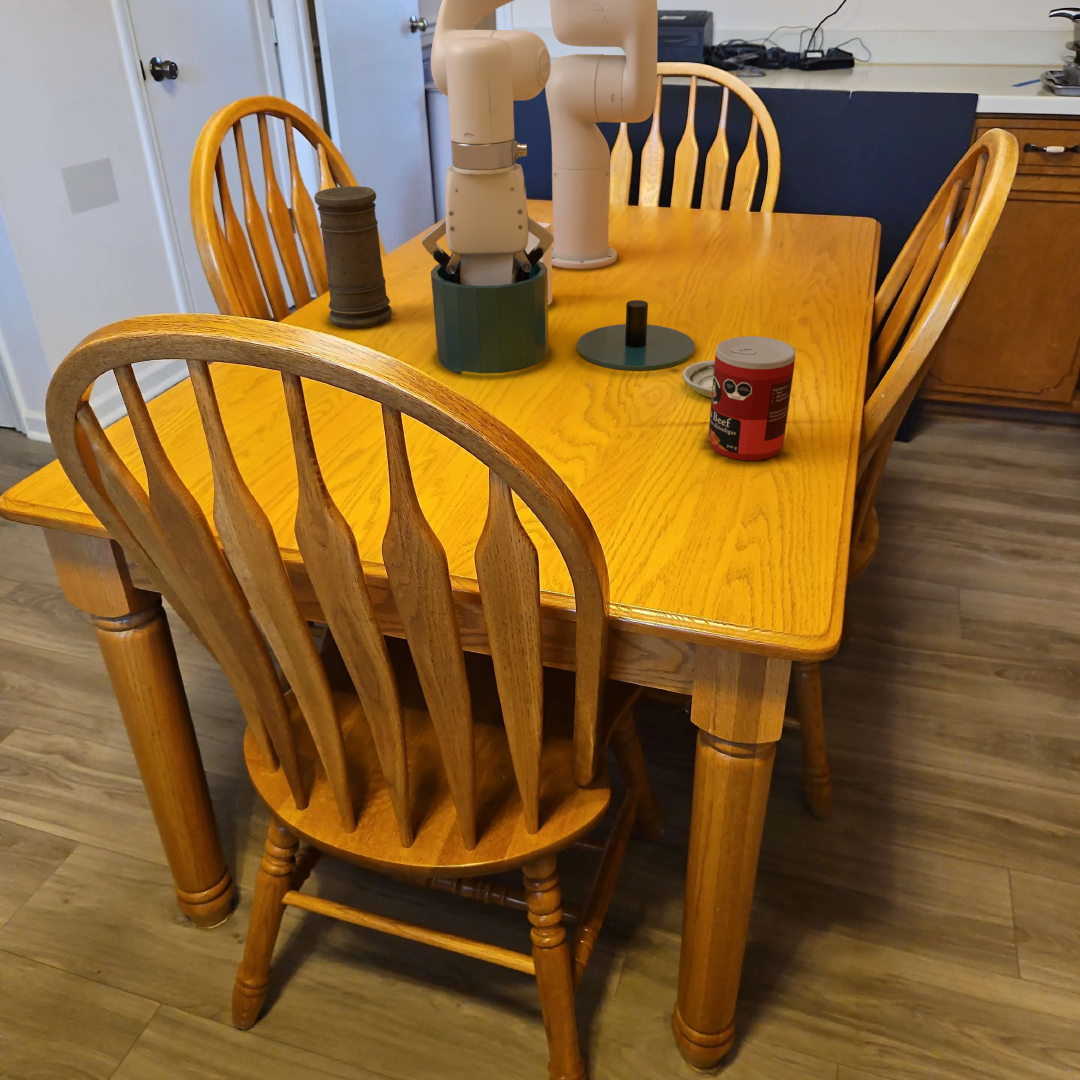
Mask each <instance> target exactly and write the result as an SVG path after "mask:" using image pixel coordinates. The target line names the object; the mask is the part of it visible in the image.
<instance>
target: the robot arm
mask: <svg viewBox="0 0 1080 1080" xmlns="http://www.w3.org/2000/svg"><path fill="white" fill-rule="evenodd" d="M514 1H515V0H441V3H440V6H439V10H438V14H437V19H436V23H435V28H434V33H433V38H432V44H431V51H430V53H431V54H430V70H431V71H430V72H431V76H432V80H433V83H434V85H435V87H436V88H437V90H438V91H439V92H440V93H441V94H442V95H444V96H446V97H447V100H448V116H449V132H450V144H451V145H450V146H451V147H450V148H451V160H452V161H451V162H452V165H449V166H448V167H447V168H446V176H445V177H446V178H445V198H444V200H445V201H444V202H445V203H444V204H445V205H444V206H445V210H444V211H445V212H444V213H445V214H444V215H445V218H444V219H443V220H442V221H440V222H439V223H438V224H437V225H436V226H435V227H434V228H433V229H431V230H430V231H429V232H428V233H427V234H425V235H424V236H423V237H422V240H421V245H422V246H423V247H424V249H425V250H426V251H427V252H428V253H429V254H430V255H431V256H432V257H433V259H434V261H435V262H436V263H438V264H440V265H441V266H442V267H443V268H444V269H446V271H447V273H448V274H449V280H450V282H452V283H457V284H461V280H460V267H459V263H460V261H461V259H462V257H463V255H474V254H510V253H513V255H514V257H515V258H516V260H517V262H518V263H519V265H520V268H519V269H518V277H519V282H521V281H525V280H528V279H530V271H531V269H532V267H533V266H534V265H535V264H536V263H537V262H538V261H539V260H540V259H541V258H542V257H543V255H544V253H545V252H546V251H547V249H548V248H549V247H550V245H551V247H552V267H557V268H560V269H561V268H562V269H568V270H569V269H570V270H589V269H597V268H603V267H606V266H607V267H608V266H610V265H612V264H613V263H615V262H616V261H617V259H618V252H617V250H616V249H614V248H613V247H611V246H609V224H610V223H609V221H610V218H609V217H610V173H611V171H610V168H611V165H610V164H611V152H610V147H609V144H608V142H607V140H606V137H604V134H603V133H602V131H601V130H600V128H599V127H598V125H597V124H596V123H624V124H631V123H632V124H633V123H634V124H636V123H641V122H644V121H646V120H648V119H649V118H650V117H651V116H652V115H653V113H654V110H655V106H656V101H657V92H658V91H657V90H658V34H659V33H658V28H659V27H658V25H659V24H658V23H659V22H658V20H659V19H658V17H659V14H658V0H549V7H550V18H551V26H552V30H553V34H554V36H555V37H554V38H555V39H556V40H557V41H558V42H559V43H561V44H563V45H566V46H571V47H580V48H581V47H583V48H584V47H585V48H621V50H622V51H623V53H624V54H604V53H603V54H602V53H601V54H600V53H599V54H594V53H593V54H589V53H587V54H585V53H583V54H582V53H576V54H567V55H563V56H560V57H558V58H557V59H555V60H553V62H551V57H550V52H549V50H548V47H547V45H546V43H545V41H544V40H543V39H542V38H541V37H540V36H539V35H538V34H536V33H534V32H532V31H528V30H521V29H520V30H519V29H506V30H505V29H475V28H476V26H477V25H478V24H479V23H480V21H482V20H483V19H484V18H485V17H486V16H488V15H489V14H491V13H492V12H493V11H495V10H497V9H499V8H501V7H503V6H505V5H508V4H509V3H512V2H514ZM544 89H545V91H544V92H545V99H546V105H547V111H548V116H549V117H548V118H549V125H550V137H551V183H552V184H551V185H552V186H551V190H552V192H551V195H552V197H551V198H552V199H551V201H552V202H551V203H552V232H551V233H550V232H549V231H547V230H546V229H545V228H543V227H542V226H541V225H539V224H538V223H537V222H538V221H535V220H534V219H533V218H531V217H530V216H529V212H528V199H527V189H526V182H525V181H526V180H525V175H524V170H523V167H522V165H521V163H520V164H519V163H516V161H518V159H519V158H522V157H528V144H527V143H521V142H518V141H517V140H515V113H514V112H515V111H514V110H515V109H514V102H515V101H521V102H522V101H528V100H529V101H530V100H532V99H533V98H536V97H537V96H538V95H539V94H540V93H541V92H543V90H544ZM528 231H529V232H530V233H532V234H533V235H535V236H536V237H537V238H539V240H540V241H539V243H538V244H537V246H536V247H535V248H534V249H533V250H532V251H531V252H530V253H529V254H527V252H526V250H525V249H526V248H527V244H528ZM444 236H446V244H447V249H448V250H449V252H451V254H448V253H447V252H446V251H445V250H444V249H443V248H441V247H440V246H439V244H438V241H439V240H440V239H441V238H442V237H444Z"/></svg>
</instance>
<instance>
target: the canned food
mask: <svg viewBox="0 0 1080 1080" xmlns="http://www.w3.org/2000/svg"><path fill="white" fill-rule="evenodd" d="M714 360H715V362H714V374H713V387H712V398H711V401H710V412H709V422H708V423H709V425H708V426H709V427H708V442H709V445H710V447H711V449H712V450H713V451H715V452H716V453H718V454H719V455H721V456H723V457H725V458H729V459H733V460H738V461H748V462H749V461H763V460H768V459H770V458H772V457H774V456H776V455H778V453H779V452H780V451H781V449H782V447H783V445H784V443H785V442H784V441H785V434H786V427H787V420H788V413H789V406H790V399H791V392H792V387H793V379H794V372H795V362H796V349H795V348H794V347H793V346H792V345H791V344H789V343H787V342H785V341H782V340H779V339H776V338H770V337H765V336H755V335H754V336H751V335H750V336H747V335H746V336H736V337H731V338H728V339H725V340H722V341H720V342H719V343H718V344H717V346H716V351H715V355H714Z"/></svg>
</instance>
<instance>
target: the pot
mask: <svg viewBox="0 0 1080 1080" xmlns="http://www.w3.org/2000/svg"><path fill="white" fill-rule="evenodd" d="M459 267H460V269H461V261H460V263H459ZM518 267H519V268H520V265H519V263H518ZM430 278H431V279H430V280H431V281H430V282H431V291H432V292H431V295H432V304H433V305H432V306H433V317H434V329H435V341H436V352H437V358H438V362H439V364H440V365H441V366H442V367H443V368H444V369H446V370H448V371H450V372H452V373H456V374H459V375H462V374H463V373H462V372H467V373H475V374H501V373H502V374H503V373H510V372H516V371H521V370H524V369H528V368H530V367H533V366H536V365H537V364H539V363H541V362H542V361H543V360H545V359H546V357H547V356H548V353H549V349H550V348H549V305H548V280H547V267H546V266H545V265H544V263H542V262H540V261H538V262H537V263H536V264H535V265H534V266H533V267H532V269H531V271H530V279H528V280H525V281H521V282H517V283H513V284H505V285H498V286H471V285H461V284H457V283H452V282H450V280H449V274H448V273H447V271H446V269H444V268H443V267H442V266H441V265H440V264H439V263H438V264H436V265H435V266H434V267H433V268H432V269H431V271H430Z"/></svg>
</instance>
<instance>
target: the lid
mask: <svg viewBox="0 0 1080 1080" xmlns="http://www.w3.org/2000/svg"><path fill="white" fill-rule="evenodd" d="M625 304H626V305H625V323H623V324H622V323H621V324H620V323H619V324H613V325H606V326H602V327H599V328H595V329H591V330H590V331H588V332H586V333H584V334H583V335H581V336H580V337H579V339H577V342H576V350H577V353H578V355H579V356H580V357H581V358H583V359H584V360H586V361H587V362H589V363H591V364H594V365H597V366H600V367H603V368H608V369H615V370H621V371H638V372H639V371H654V370H662V369H668V368H671V367H675V366H678V365H680V364H683V363H685V362H686V361H688V360H690V359H691V358H692V357H693V355H694V354H695V350H696V349H695V348H696V345H695V341H694V340H693V338H691V337H690V336H689V335H687V334H685V333H684V332H682V331H679V330H677V329H673V328H670V327H667V326H663V325H662V326H661V325H655V324H649V323H648V315H649V311H648V310H649V303H648V302H647V301H645V300H641V299H632V300H629V301H627V302H626V303H625Z"/></svg>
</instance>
